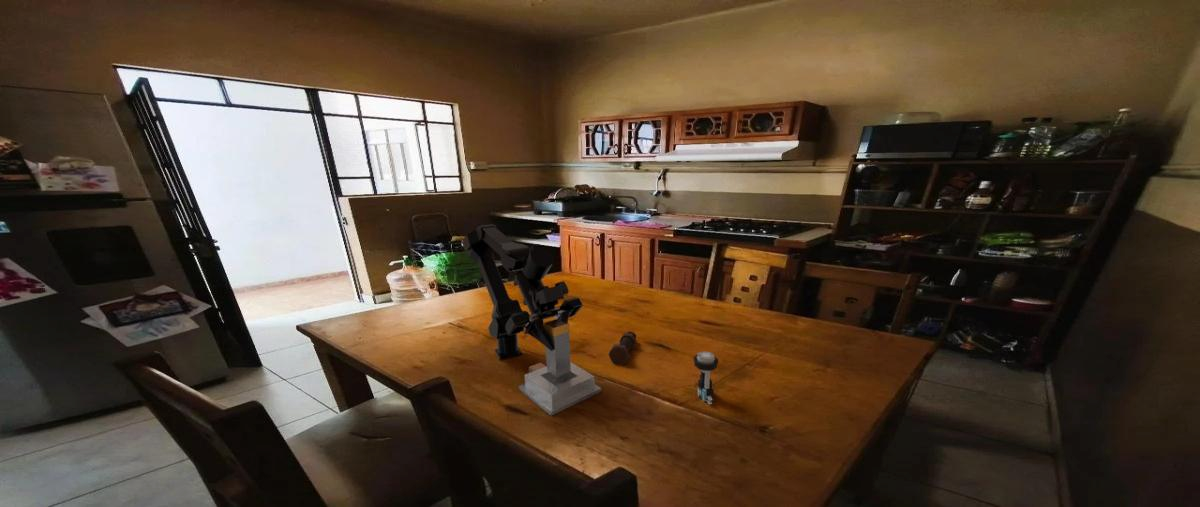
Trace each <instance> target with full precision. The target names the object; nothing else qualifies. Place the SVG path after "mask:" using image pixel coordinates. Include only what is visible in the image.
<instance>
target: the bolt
mask: <svg viewBox="0 0 1200 507" xmlns="http://www.w3.org/2000/svg"><path fill="white" fill-rule="evenodd" d="M618 342H619V343H618V344H613V346H612V347H611V349H610V351H609V353H608V358H609V359H610V361H611V362H612V364H616V365H625V364H626V363H627V361H628V359H630V357H631V354H630V352H629V351H630V350H633V348H634V346H635V345H636V344H637V334H635V332H633V331H627V332H624V333H623V334H622V336H621V338H619V341H618Z"/></svg>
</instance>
